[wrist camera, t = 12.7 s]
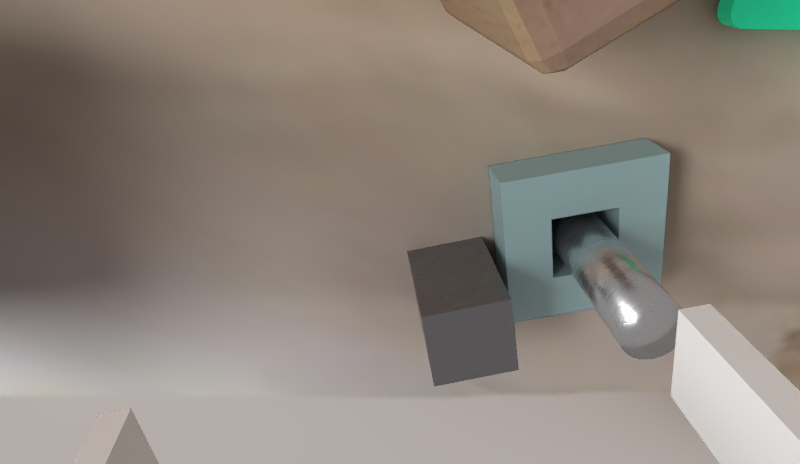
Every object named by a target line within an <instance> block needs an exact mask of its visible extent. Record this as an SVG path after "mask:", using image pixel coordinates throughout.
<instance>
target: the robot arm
mask: <svg viewBox="0 0 800 464" xmlns="http://www.w3.org/2000/svg"><path fill="white" fill-rule="evenodd" d="M671 397H672V399H673V400H674V401H675V403H676V404H677V405H678V406H679V408H680V410H681V411H682V412H683V414H684V415H685V416H686V418H687V419H688V421H689V422H690V423H691V425H692V426H693V427H694V429H695V430H696V432H697V433H698V434H699V436H700V437H701V438H702V440H703V441H704V443H705V444H706V445H707V447H708V448H709V449H710V451H711V452H712V453H713V455H714V456H715V458H716V459H717V460H718V462H719V463H720V464H800V391H799V390H798V389H797V388H796V387H795V386H794V385H793V384H792V383H791V382H790V381H789V380H788V379H787V378H786V377H785V376H784V375H783V374H782V373H781V372H780V371H779V370H778V369H777V368H775V367H774V366H773V365H772V364H771V363H770V362H769V361H768V360H767V359H766V358H765V357H764V356H763V355H762V354H761V353H760V352H759V351H758V350H757V349H756V348H755V347H754V346H753V345H752V344H751V343H750V342H749V341H748V340H747V339H746V338H745V337H744V336H743V335H742V334H741V333H740V332H739V331H737V330H736V329H735V328H734V327H733V326H732V325H731V324H730V323H729V322H728V321H727V320H726V319H725V318H724V317H723V316H722V315H721V314H720V313H719V312H718V311H717V310H716V309H715V308H714V307H713V306H712V305H711V304H707V305H701V306H696V307H690V308H685V309H679V310H678V321H677V332H676V343H675V354H674V365H673V376H672V387H671ZM73 464H159V463H158V462H157V459H156V457H155V455H154V453H153V451H152V449H151V447H150V445H149V443H148V442H147V439H146V438H145V435H144V433H143V431H142V429H141V427H140V425H139V423H138V421H137V420H136V418H135V415H134V414H133V412H132V410H131V408H130V409H125V410H119V411H113V412H108V413H102V414H98V417H97V418H96V420H95V422H94V424H93V426H92V428H91V430H90V432H89V434H88V435H87V437H86V439H85V441H84V443H83V445H82V447H81V449H80V451H79V452H78V455H77V456H76V458H75V460H74V462H73Z"/></svg>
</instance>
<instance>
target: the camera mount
mask: <svg viewBox="0 0 800 464" xmlns="http://www.w3.org/2000/svg"><path fill="white" fill-rule="evenodd" d="M717 17H718V20H719V21H720V23H721V24H723V25H726V26H730V27H735V28H740V29H780V30H800V0H720V1H719V5H718V9H717Z"/></svg>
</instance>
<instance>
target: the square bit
mask: <svg viewBox="0 0 800 464" xmlns="http://www.w3.org/2000/svg"><path fill="white" fill-rule="evenodd" d="M407 252H408V257H409V263H410V268H411V273H412V278H413V283H414V288H415V294H416V299H417V304H418V309H419V314H420V319H421V324H422V329H423V334H424V338H425V343H426V348H427V353H428V358H429V363H430V367H431V372H432V377H433V382H434V386H438V385H443V384H449V383H454V382H459V381H464V380H469V379H474V378H479V377H484V376H489V375H494V374H499V373H504V372H509V371H515V370H519V369H518V359H517V349H516V339H515V329H514V319H513V309H512V299H511V297H510V295H509V293H508V291H507V289H506V287H505V285H504V283H503V280H502V278H501V276H500V274H499V272H498V270H497V268H496V266H495V264H494V262H493V260H492V257H491V255H490V253H489V251H488V249H487V247H486V245H485V243H484V241H483V239H482V237H478V238H473V239H468V240H462V241H457V242H452V243H447V244H442V245H437V246H432V247H427V248H422V249H417V250H412V251H407Z"/></svg>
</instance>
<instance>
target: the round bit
mask: <svg viewBox="0 0 800 464" xmlns="http://www.w3.org/2000/svg"><path fill="white" fill-rule="evenodd" d="M551 225H552V246H553V247H554V249H555V250H556V252H557V253H558V255H559V256H560V258H561V259H562V261H563V262H564V264H565V265H566V266H567V268H568V269H569V271H570V272H571V274H572V275H573V277H574V278H575V280H576V281H577V283H578V284H579V286H580V287H581V289H582V290H583V291H584V293H585V294H586V296H587V297H588V299H589V300H590V302H591V303H592V305H593V306H594V308H595V309H596V311H597V312H598V314H599V315H600V316H601V318H602V319H603V321H604V322H605V324H606V325H607V327H608V328H609V330H610V331H611V333H612V334H613V336H614V337H615V338H616V340H617V341H618V343H619V344H620V346H621V347H622V349H623V350H624V351H625V352H626V353H627V354H628V355H630V356H632V357H634V358H638V359H653V358H657V357H660V356H663V355H665V354H667V353H669V352H670V351H672V350H673V349H674V348H675V343H676V332H677V321H678V310H679V309H682V308H681V307H680V305H679V304H678V303H677V302H676V301H675V300H674V299H673V298H672V297H671V296H670V295H669V294H668V292H667V291H666V290H665V289H664V288H663V287H662V286H661V285H660V284H659V283H658V282H657V280H656V279H655V278H654V277H653V276H652V275H651V274H650V273H649V272H648V271H647V270H646V269H645V267H644V266H643V265H642V264H641V263H640V262H639V261H638V260H637V259H636V258H635V257H634V256H633V254H632V253H631V252H630V251H629V250H628V249H627V248H626V247H625V246H624V245H623V244H622V243H621V241H620V240H619V239H618V238H617V237H616V236H615V235H614V234H613V233H612V232H611V231H610V230H609V228H608V227H607V226H606V225H605V224H604V223H603V222H602V221H601V220H600V219H599V218H598V217H597V215H596V214H595V213H594V212H591V213H585V214H579V215H574V216H568V217H563V218H557V219H551Z"/></svg>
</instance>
